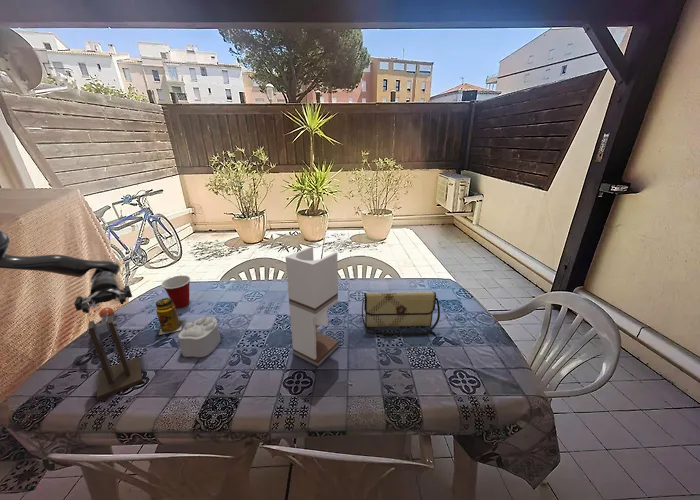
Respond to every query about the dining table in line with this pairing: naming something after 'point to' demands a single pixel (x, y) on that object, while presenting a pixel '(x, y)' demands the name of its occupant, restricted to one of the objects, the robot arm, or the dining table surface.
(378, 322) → the clutch purse
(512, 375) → the dining table surface
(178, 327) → the condiment
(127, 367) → the bracket
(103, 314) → the lever
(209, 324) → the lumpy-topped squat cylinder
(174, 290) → the plastic cup
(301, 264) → the white tall boxy piece
